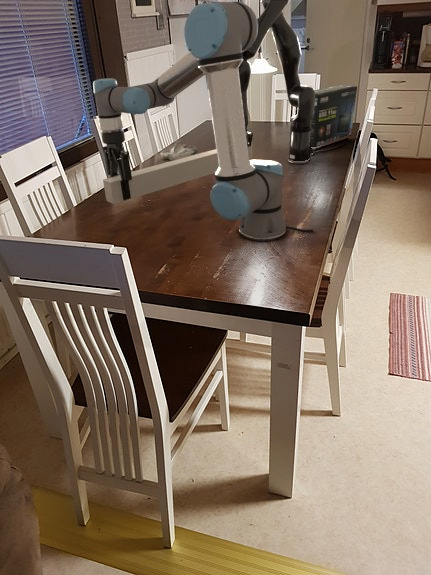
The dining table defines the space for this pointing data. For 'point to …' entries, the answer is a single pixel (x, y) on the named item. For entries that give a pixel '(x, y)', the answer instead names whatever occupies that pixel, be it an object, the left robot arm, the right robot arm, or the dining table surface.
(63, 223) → the dining table surface
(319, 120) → the router box
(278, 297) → the dining table surface
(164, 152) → the fossil
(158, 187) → the beam
